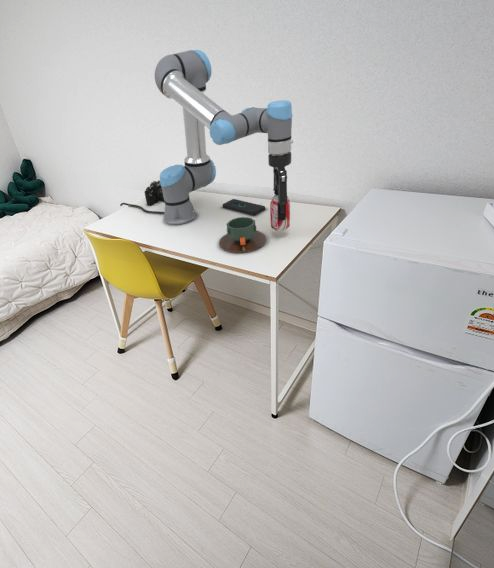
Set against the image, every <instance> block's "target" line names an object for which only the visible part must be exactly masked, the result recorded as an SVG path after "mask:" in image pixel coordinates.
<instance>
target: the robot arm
mask: <svg viewBox="0 0 494 568" xmlns="http://www.w3.org/2000/svg"><path fill="white" fill-rule="evenodd" d="M211 77H212V64H211V61H210V59H209V57H208V56H207V54H206V53H205V52H204V51H202V50H201V49H189V50H186V51H181V52H177V53H172V54H167V55H165V56H163V57H161V59H159V61H158V62H157V64H156V67H155V69H154V82H155V85H156V87H157V89H158V91H159V92H160V93H161V94H162V95H163V96H165V98H167V99H169V100H170V99H171V100H172V99H173V100H174V102H176V103H177V104H179V105H180V106H181V107H182V115H183V124H184V125H183V127H184V137H185V138H184V139H185V147H186V148H185V149H186V156H185V158H184V159H183V160H184V161H183V162H184V165H183V164H174V165H170V166H167V167H166V168H164V169H163V170H162V171H161V172H160V174H159V180H160V184H161V188H162V192H163V197H164V201H163V202H164V211H160V210H159V211H158V210H157V211H155V210H147V209H145V208H143V206H141V205H137V204H131V203H127V202H122V203H120V204H119V206H120V207H122V206H123V205H125V206H128V207H133V208H138V209H141V210H142V211H143V212H144V213H148V214H160V215H162V214H163V220H164V223H165V224H167V225H171V226H181V225H185V224H188V223H190V222H192V221H194V220H196V217H197V211H196V208H195V207H194V205H193V203H192V202H191V199H190V193H192V192H195V191H196V190H199V189H201V188H205V187H207V186H209V185H211V184H212V183H213V182H214V181H215V179H216V176H217V168H216V165H215V162H214V161H213V160H212V159H211V157H210V156H209V154H207V143H206V128H208V130H209V137H210V138H211V139H212V142H213V143H214V144H216V145H217V146H222V145H227V144H230V143H232V142H235V141H238V140H240V139H242V138H246V137H249V136H252V135H254V134H258V133H259V134H267V153H268V156H267V157H268V158H267V159H268V166H269V167H272V168H273V170H272V172H273V194H274V196H276V195H278V203H276V204H277V205H278V221H282V220H286V204H287V196H288V171H287V169H286V167H287V166H290V165H291V164H292V152H291V151H292V144H294V140H292V128H293V127H292V125H293V108H292V107H293V106H292V105H293V104H292V102H291V101H290V100H287V99H283V100H275V101H274V100H273V101H271V102H269V103H268V104H267V106H266V107H255V106H252V107H245V108H244V109H243V110H242V111H241V112H239V113H236V114H231V113H229V112H228V111H226V110H225V109H224V108H223V107H221V106H220V105H218V104H217V103H216V102H215V101H214V100H213V99H211V98H210V97H209V96H208V95H206V94H205V92H206V91H207V83H208V82H209V81H210V80H211ZM274 196H273V197H274Z"/></svg>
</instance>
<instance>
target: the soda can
mask: <svg viewBox="0 0 494 568" xmlns="http://www.w3.org/2000/svg"><path fill="white" fill-rule="evenodd" d="M275 195H276V194H275ZM276 203H278V195H276V196H272V197H271V201H270V204H269V205H270V206H269V213H270V217H269V219H270V228H271V229H272V230H274V231H276V232H277V231H278V232H282V231H285V230H287V229H289V228H290V224H291V201H290V199H289V196H288V195H287V204H286V220H282V221H278V205H277V204H276Z"/></svg>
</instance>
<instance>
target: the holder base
mask: <svg viewBox="0 0 494 568" xmlns="http://www.w3.org/2000/svg"><path fill="white" fill-rule="evenodd" d="M218 242H219V243H218V244H219V248H220V249H221V250H223V251H224V252H227V253H230V254H247V253H248V254H249V253H253V252H255V251H258V250H260V249H261V248H262V247H264V246H265V245H266V243H267V237H266V235H265V234H264V233H263V232H261V231H258V230H256V232H255V235H254V236H253V237H252V238H250V239H247V240H245V245H240V241H238V240H233V239H230V238H229V235H227V233H226V234H224V235H222V237H221V238H220V239H219V241H218Z"/></svg>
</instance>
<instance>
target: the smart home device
mask: <svg viewBox="0 0 494 568" xmlns="http://www.w3.org/2000/svg"><path fill="white" fill-rule="evenodd" d="M222 208H223V209H226V210H228V211H233V212H237V213H241V214H245V215H249V216H253V217H255V216H257V215H258V214H260V213H262V212H264V211H266V206H265V205H262V204H257V203H252V202H249V201H244V200H240V199H235V198H232V199H230V200H228V201H226V202H224V203H222Z"/></svg>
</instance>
